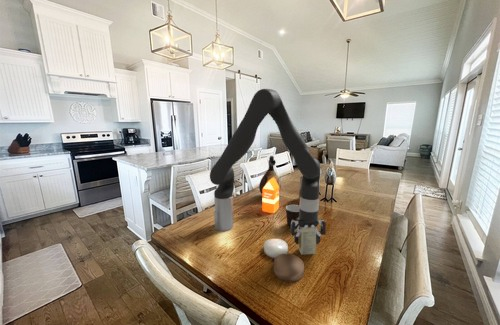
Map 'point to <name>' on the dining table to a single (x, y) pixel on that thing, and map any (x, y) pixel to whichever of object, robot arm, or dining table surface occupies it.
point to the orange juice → (270, 196)
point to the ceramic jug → (269, 175)
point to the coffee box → (300, 185)
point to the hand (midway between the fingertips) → (307, 243)
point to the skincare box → (307, 240)
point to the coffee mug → (292, 214)
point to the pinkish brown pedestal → (288, 267)
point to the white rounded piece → (275, 247)
